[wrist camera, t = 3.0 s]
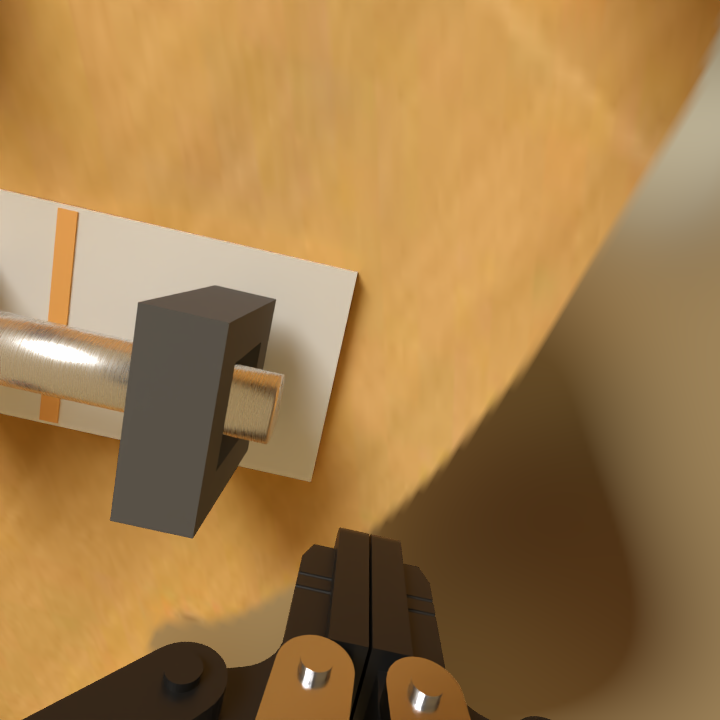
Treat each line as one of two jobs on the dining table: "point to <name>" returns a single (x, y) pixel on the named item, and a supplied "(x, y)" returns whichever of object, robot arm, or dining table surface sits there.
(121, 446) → the collar
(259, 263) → the pipe rig
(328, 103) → the dining table surface
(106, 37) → the dining table surface
